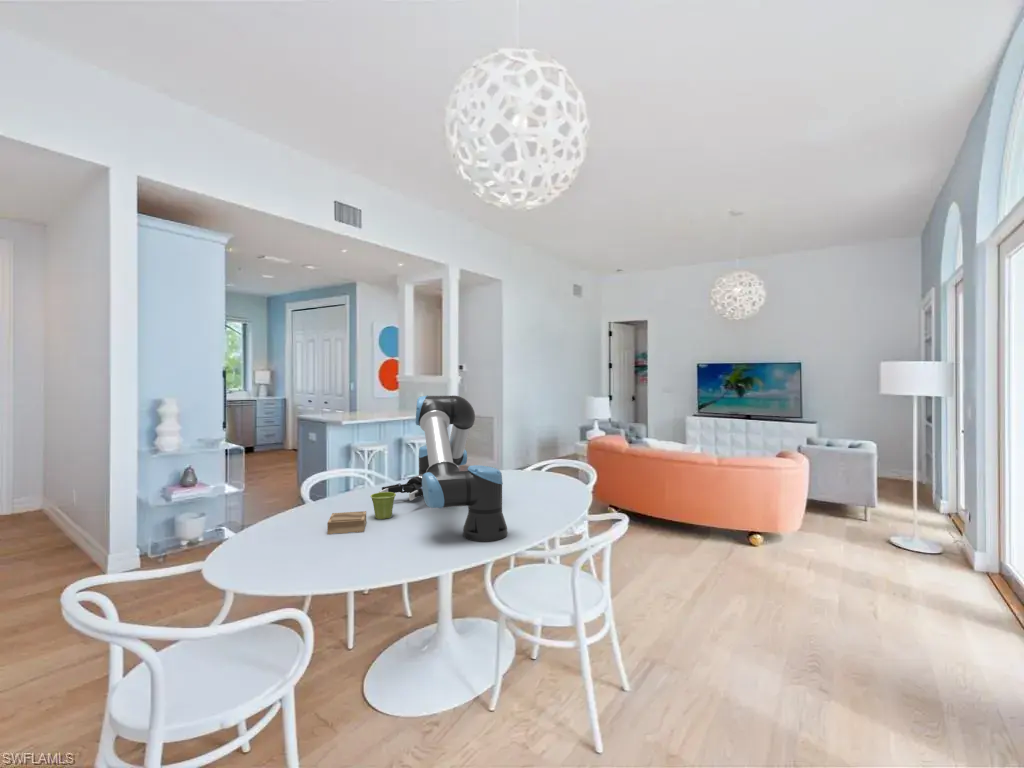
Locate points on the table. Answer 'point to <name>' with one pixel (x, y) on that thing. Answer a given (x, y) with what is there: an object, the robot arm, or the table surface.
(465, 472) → the robot arm
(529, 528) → the table surface
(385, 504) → the plant pot
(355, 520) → the oak plinth
